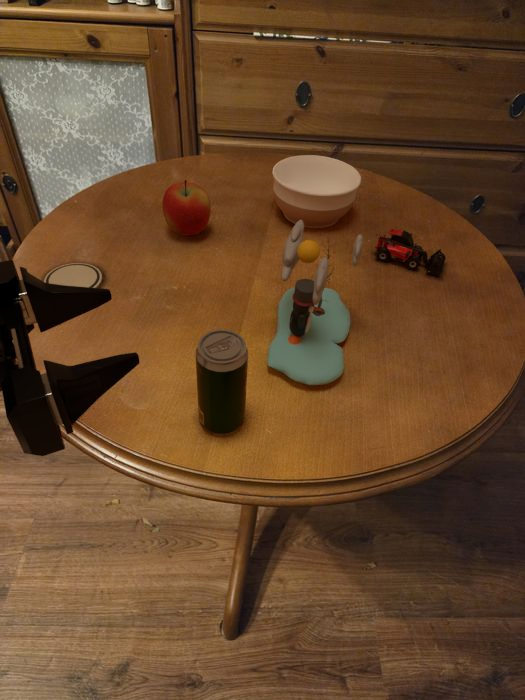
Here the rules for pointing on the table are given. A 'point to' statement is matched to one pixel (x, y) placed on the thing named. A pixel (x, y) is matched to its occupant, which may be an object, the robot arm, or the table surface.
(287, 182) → the bowl
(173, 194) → the apple
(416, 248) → the loader
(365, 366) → the table surface
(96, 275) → the drink coaster
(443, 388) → the table surface
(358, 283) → the table surface
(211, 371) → the beer can
